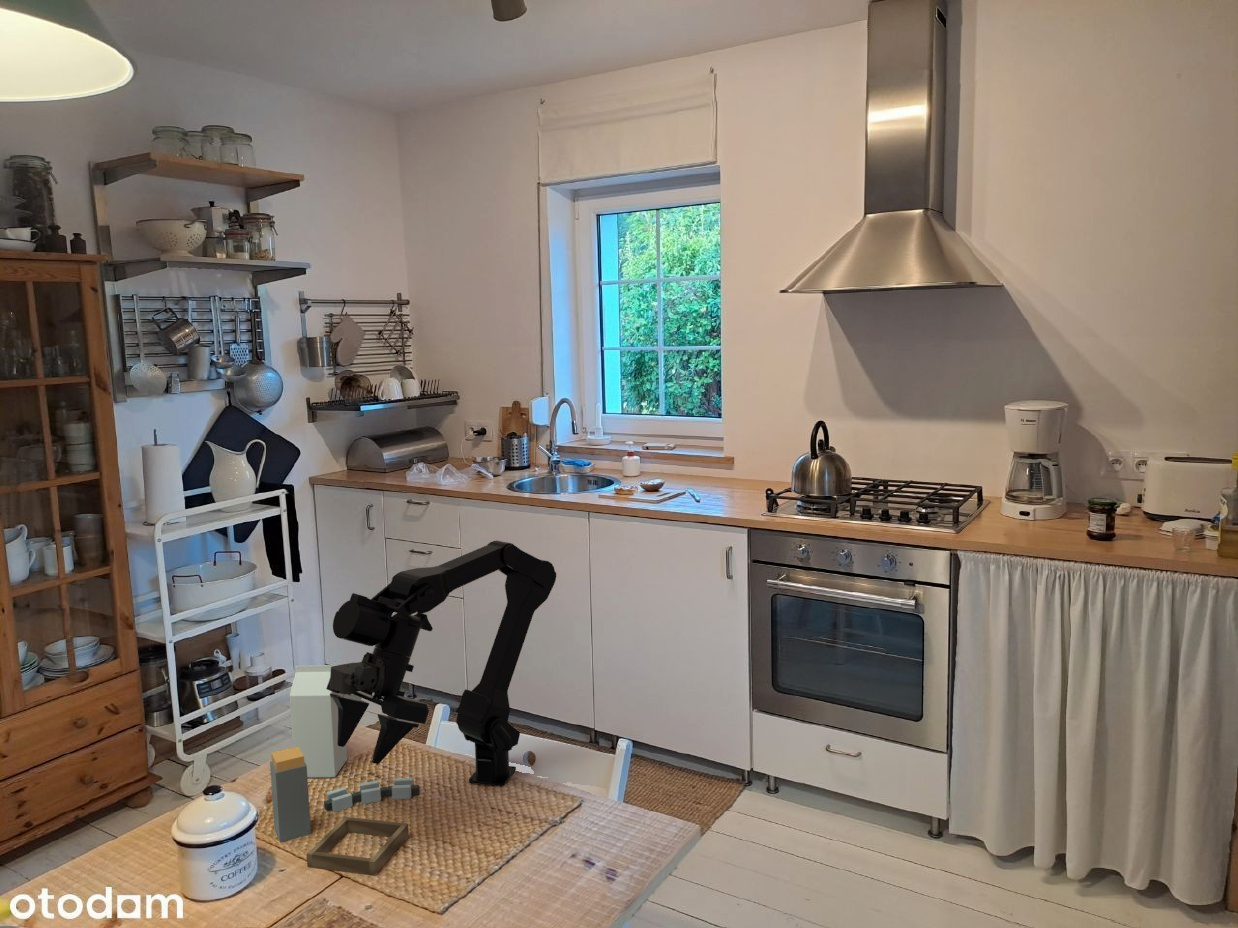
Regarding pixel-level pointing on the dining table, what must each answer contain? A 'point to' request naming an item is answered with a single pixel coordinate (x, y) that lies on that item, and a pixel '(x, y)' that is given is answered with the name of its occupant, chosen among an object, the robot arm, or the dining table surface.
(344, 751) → the milk carton
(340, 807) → the grey jointed bar
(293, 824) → the grey box with lid
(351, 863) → the brown flat square frame
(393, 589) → the robot arm
